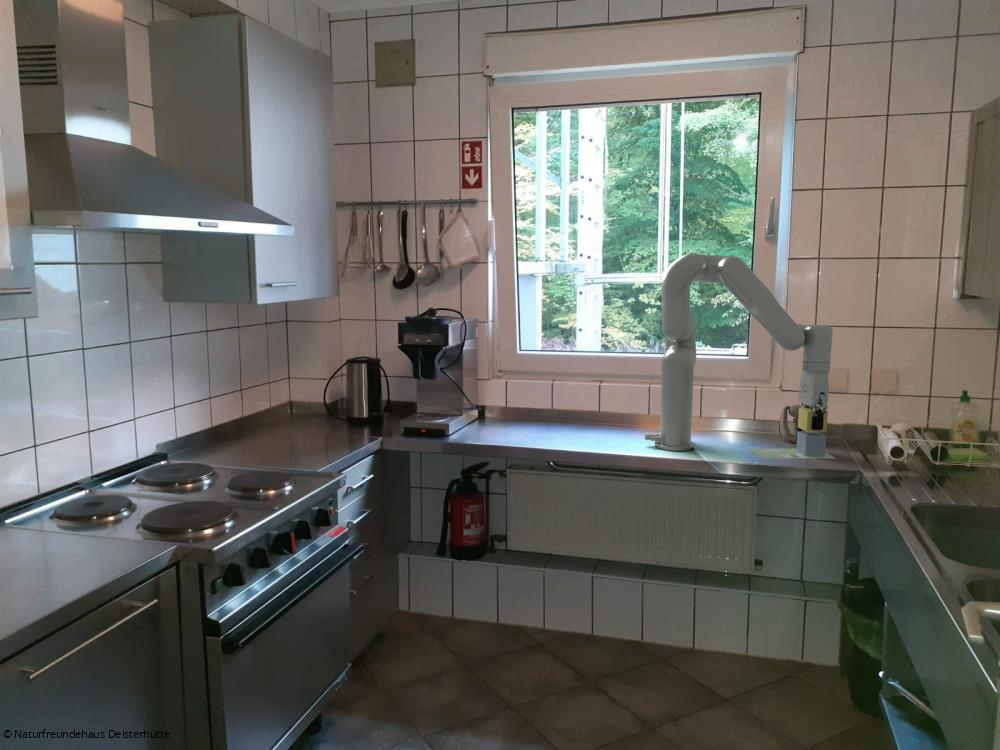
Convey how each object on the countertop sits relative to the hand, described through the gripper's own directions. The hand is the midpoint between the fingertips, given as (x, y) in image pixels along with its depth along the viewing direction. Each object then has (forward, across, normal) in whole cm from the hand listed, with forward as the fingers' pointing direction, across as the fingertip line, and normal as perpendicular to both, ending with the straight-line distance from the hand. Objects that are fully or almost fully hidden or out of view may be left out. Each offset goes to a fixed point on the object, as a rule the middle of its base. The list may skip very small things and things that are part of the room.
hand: (812, 426), depth 229 cm
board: (+9, 0, -6) cm, 11 cm away
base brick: (+8, 0, 0) cm, 8 cm away
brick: (+1, 0, 0) cm, 1 cm away
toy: (+10, -17, +2) cm, 20 cm away
